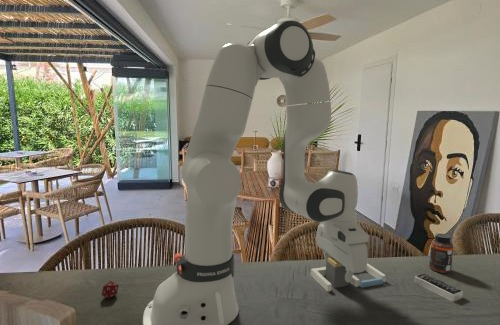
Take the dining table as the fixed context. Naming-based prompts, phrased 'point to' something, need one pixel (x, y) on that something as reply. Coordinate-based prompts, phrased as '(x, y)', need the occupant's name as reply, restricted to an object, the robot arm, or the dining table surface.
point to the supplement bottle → (441, 254)
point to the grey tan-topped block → (335, 273)
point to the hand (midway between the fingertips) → (337, 272)
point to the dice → (110, 290)
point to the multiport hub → (439, 287)
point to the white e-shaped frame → (380, 278)
